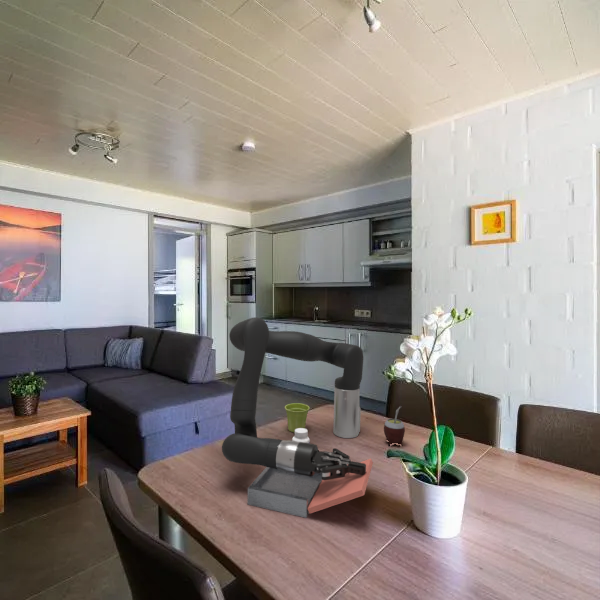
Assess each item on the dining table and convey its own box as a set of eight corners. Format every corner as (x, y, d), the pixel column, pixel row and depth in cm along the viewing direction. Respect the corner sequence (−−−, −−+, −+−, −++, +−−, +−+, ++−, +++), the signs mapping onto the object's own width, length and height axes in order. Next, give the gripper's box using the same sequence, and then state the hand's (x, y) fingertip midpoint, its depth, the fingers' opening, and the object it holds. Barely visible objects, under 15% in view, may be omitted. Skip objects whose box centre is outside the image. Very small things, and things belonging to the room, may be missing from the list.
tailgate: (307, 508, 82) (361, 489, 78) (324, 475, 97) (370, 458, 93) (310, 515, 82) (365, 496, 78) (327, 481, 97) (373, 464, 93)
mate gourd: (390, 438, 129) (391, 396, 129) (410, 445, 124) (411, 401, 124) (378, 444, 124) (380, 401, 124) (399, 451, 119) (400, 406, 118)
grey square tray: (247, 504, 87) (247, 488, 87) (272, 473, 102) (273, 459, 102) (306, 517, 82) (306, 500, 82) (323, 483, 97) (324, 468, 97)
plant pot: (313, 428, 137) (314, 406, 136) (300, 436, 129) (301, 413, 128) (293, 423, 142) (293, 401, 141) (279, 431, 134) (279, 407, 133)
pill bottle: (296, 467, 106) (297, 435, 106) (288, 459, 111) (289, 428, 110) (312, 463, 108) (313, 432, 108) (304, 456, 113) (304, 426, 113)
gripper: (288, 453, 85) (361, 466, 79) (305, 433, 98) (369, 443, 92) (287, 484, 85) (360, 499, 80) (304, 460, 98) (368, 472, 92)
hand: (365, 469), depth 86 cm, fingers closed
